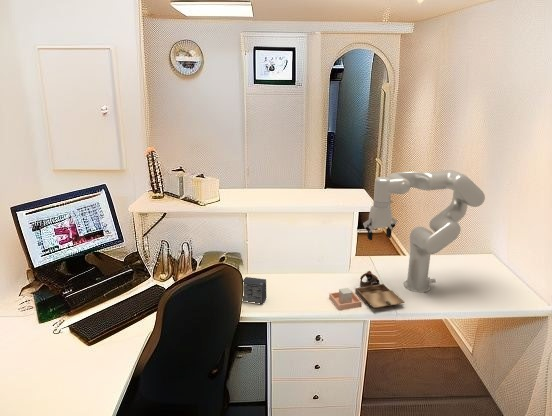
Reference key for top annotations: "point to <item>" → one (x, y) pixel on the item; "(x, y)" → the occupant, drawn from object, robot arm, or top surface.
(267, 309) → the top surface
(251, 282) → the small box
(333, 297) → the terracotta tray
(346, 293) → the stone block
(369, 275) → the broken pottery ring
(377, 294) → the sliding lid wooden box
